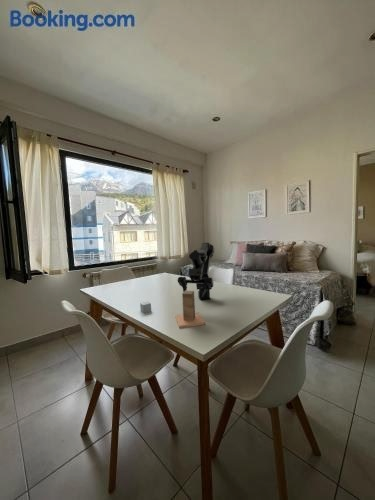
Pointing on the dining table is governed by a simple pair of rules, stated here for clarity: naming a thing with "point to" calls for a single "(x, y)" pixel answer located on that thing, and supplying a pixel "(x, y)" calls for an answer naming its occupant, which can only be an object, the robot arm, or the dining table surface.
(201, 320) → the terracotta tile
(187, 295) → the walnut block
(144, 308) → the blue-grey cube
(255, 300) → the dining table surface
